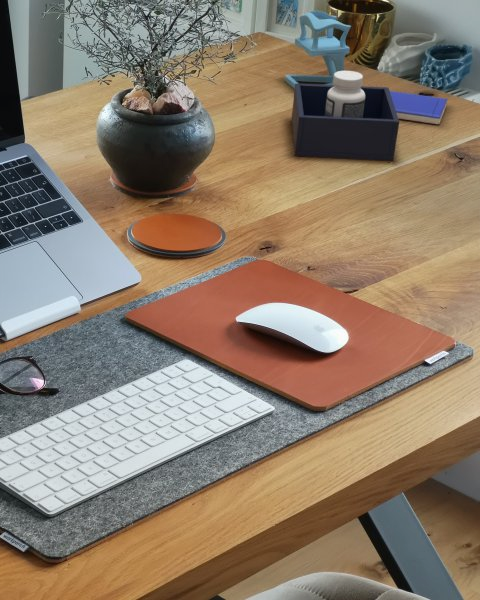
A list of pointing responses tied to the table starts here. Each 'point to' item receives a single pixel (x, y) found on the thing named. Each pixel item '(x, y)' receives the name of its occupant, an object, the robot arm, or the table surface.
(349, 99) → the pill bottle
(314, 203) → the table surface
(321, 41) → the chair
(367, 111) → the bin
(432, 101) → the blue book
